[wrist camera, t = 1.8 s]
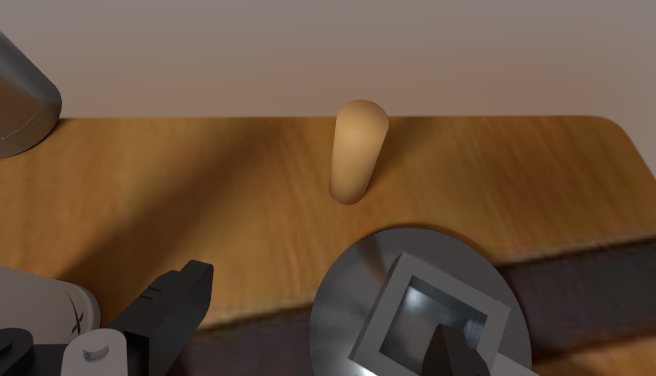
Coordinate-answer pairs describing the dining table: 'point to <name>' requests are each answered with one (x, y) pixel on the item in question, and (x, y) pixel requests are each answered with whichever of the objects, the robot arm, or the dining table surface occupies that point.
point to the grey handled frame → (413, 307)
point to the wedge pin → (356, 149)
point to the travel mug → (46, 307)
